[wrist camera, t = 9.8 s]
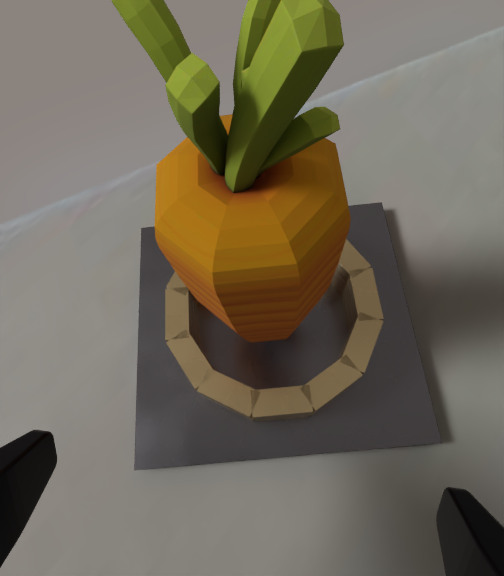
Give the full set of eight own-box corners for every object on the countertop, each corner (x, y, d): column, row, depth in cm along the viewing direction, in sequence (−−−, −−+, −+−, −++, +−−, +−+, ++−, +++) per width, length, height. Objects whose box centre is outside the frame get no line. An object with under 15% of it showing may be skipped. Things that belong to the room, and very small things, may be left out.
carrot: (201, 305, 20) (-5, -50, 6) (289, 262, 20) (291, -158, 6) (245, 397, 18) (92, 190, 4) (341, 346, 18) (506, 5, 4)
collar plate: (434, 443, 17) (468, 441, 14) (140, 469, 18) (111, 473, 15) (378, 210, 22) (394, 171, 19) (146, 235, 22) (124, 201, 19)
